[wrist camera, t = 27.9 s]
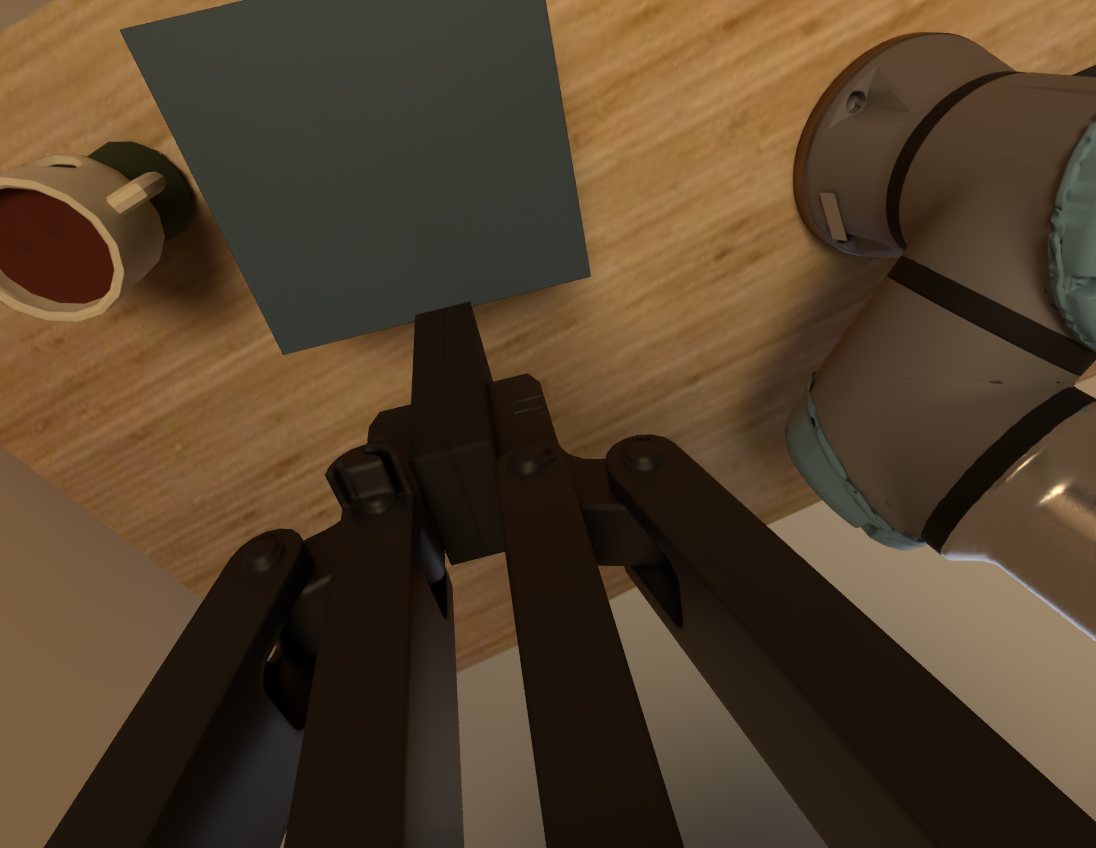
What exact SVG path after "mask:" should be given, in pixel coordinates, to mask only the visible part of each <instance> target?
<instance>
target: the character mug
mask: <svg viewBox="0 0 1096 848" xmlns="http://www.w3.org/2000/svg"><path fill="white" fill-rule="evenodd" d="M191 216H192V205H191V198H190V191H189V190H188V188H187V186H186V184H185V183H184V181H183V179H182V178H181V176H180V174H179V172H178V171H177V169H176V168H175V167H174V166H173V165H171V164H170V163H169V162H168V161H167V160H166V159H165V158H164V157H163V156H162V155H161V154H160V153H159V152H158V151H156V150H153V149H150V148H148V147H145V146H142V145H140V144H137V143H134V142H108V143H106V144H105V145H103V146H102V147H100V148H99V149H97V150H96V151H95V152H93V153H92V154H90V155H89V156H87V157H86V156H82V155H69V154H55V155H51V156H48V157H45V158H41V159H38V160H36V161H33V162H30V163H26V164H23V165H21V166H18V167H16V168H14V169H11V170H8V171H5V172H3V173H0V300H1V301H2V302H4V303H5V304H7V305H9V306H10V307H12V308H13V309H15V310H17V311H20V312H23V313H26V314H29V315H32V316H35V317H39V318H42V319H45V320H49V321H74V322H79V321H82V320H85V319H88V318H91V317H94V316H96V315H99V314H102V313H104V312H106V311H107V310H108V309H109V308H110V307H111V306H113V305H114V304H115V303H116V302H117V301H118V300H119V299H120V298H121V297H122V296H123V295H125V294H126V293H127V292H128V291H129V290H130V289H131V288H132V287H133V286H134V285H136V284H137V283H138V282H139V281H140V280H141V279H142V278H143V277H144V276H145V275H146V274H147V273H148V272H149V271H150V270H151V269H152V268H153V267H154V266H155V265H156V264H157V263H158V261H159V260H160V257H161V253H162V248H163V244H164V243H166V242H167V241H169V240H171V239H172V238H174V237H175V236H177V235H179V234H180V233H182V232H183V231H185V229H186V227H187V225H188V222H189V220H190V218H191Z"/></svg>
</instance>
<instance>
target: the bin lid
mask: <svg viewBox="0 0 1096 848" xmlns="http://www.w3.org/2000/svg"><path fill="white" fill-rule="evenodd" d="M120 32H121V34H122V36H123V38H124V40H125V42H126V44H127V46H128V48H129V50H130V52H131V54H132V56H133V57H134V59H135V61H136V63H137V65H138V67H139V69H140V71H141V73H142V75H143V77H144V79H145V81H146V83H147V85H148V87H149V89H150V91H151V93H152V95H153V97H154V99H155V101H156V103H157V105H158V107H159V109H160V111H161V113H162V115H163V117H164V119H165V121H166V123H167V125H168V127H169V129H170V131H171V133H172V135H173V137H174V139H175V141H176V143H177V145H178V147H179V149H180V151H181V153H182V155H183V157H184V159H185V161H186V163H187V165H188V167H189V169H190V171H191V173H192V175H193V177H194V179H195V181H196V183H197V185H198V187H199V189H200V191H201V193H202V195H203V197H204V199H205V201H206V203H207V205H208V207H209V209H210V210H211V212H212V214H213V216H214V218H215V220H216V222H217V224H218V226H219V228H220V230H221V232H222V234H223V236H224V238H225V240H226V242H227V244H228V246H229V248H230V250H231V252H232V254H233V256H234V258H235V260H236V262H237V264H238V266H239V268H240V270H241V272H242V274H243V276H244V278H245V280H246V282H247V284H248V286H249V288H250V290H251V292H252V294H253V296H254V298H255V300H256V302H257V304H258V306H259V308H260V310H261V312H262V314H263V316H264V318H265V320H266V322H267V324H268V326H269V328H270V330H271V332H272V334H273V336H274V338H275V340H276V342H277V344H278V346H279V348H280V350H281V352H282V354H283V355H285V354H289V353H293V352H297V351H301V350H304V349H308V348H312V347H316V346H320V345H324V344H328V343H332V342H336V341H340V340H344V339H348V338H352V337H355V336H359V335H363V334H367V333H371V332H375V331H379V330H383V329H387V328H391V327H395V326H399V325H403V324H407V323H410V322H414V321H415V315H417V314H421V313H425V312H429V311H433V310H437V309H441V308H445V307H449V306H453V305H457V304H461V303H465V302H469V301H470V302H471V306H472V307H473V306H477V305H481V304H485V303H489V302H493V301H497V300H501V299H505V298H509V297H513V296H516V295H520V294H524V293H528V292H532V291H536V290H540V289H544V288H548V287H552V286H556V285H560V284H564V283H568V282H571V281H575V280H579V279H583V278H587V277H590V276H591V274H590V268H589V262H588V256H587V250H586V244H585V238H584V232H583V226H582V219H581V213H580V207H579V201H578V195H577V189H576V183H575V177H574V171H573V164H572V158H571V152H570V146H569V140H568V134H567V128H566V122H565V116H564V109H563V103H562V97H561V91H560V85H559V79H558V73H557V67H556V61H555V54H554V48H553V42H552V36H551V30H550V24H549V18H548V12H547V6H546V0H243V1H239V2H235V3H231V4H226V5H222V6H218V7H214V8H210V9H205V10H201V11H197V12H193V13H188V14H184V15H180V16H176V17H172V18H167V19H163V20H159V21H155V22H151V23H146V24H142V25H138V26H134V27H129V28H125V29H121V30H120Z"/></svg>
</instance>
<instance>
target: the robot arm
mask: <svg viewBox="0 0 1096 848" xmlns="http://www.w3.org/2000/svg"><path fill="white" fill-rule="evenodd" d="M794 187H795V195H796V200H797V204H798V207H799V210H800V213H801V215H802V217H803V219H804V221H805V223H806V224H807V226H808V227H809V228H810V230H811V231H812V232H813V233H814V234H815V235H816V236H817V237H818V238H820V239H821V240H823V241H824V242H826V243H828V244H829V245H831V246H833V247H835V248H837V249H839V250H841V251H843V252H845V253H848V254H852V255H856V256H864V257H900V258H899V259H898V261H897V262H896V264H895V265H894V266H893V268H892V269H891V271H890V272H889V273H888V274H887V276H886V277H885V279H884V280H883V281H882V283H881V284H880V286H879V287H878V288H877V290H876V291H875V292H874V294H873V295H872V297H871V298H870V299H869V301H868V302H867V303H866V305H865V306H864V308H863V309H862V310H861V312H860V313H859V314H858V316H857V317H856V318H855V320H854V321H853V323H852V324H851V325H850V327H849V328H848V329H847V331H846V332H845V333H844V335H843V336H842V338H841V339H840V340H839V342H838V343H837V344H836V346H835V347H834V348H833V350H832V351H831V353H830V354H829V355H828V357H827V358H826V359H825V361H824V362H823V364H822V365H821V366H820V368H819V369H818V370H817V371H816V372H814V373H812V375H811V376H810V377H809V379H808V381H807V384H806V389H805V391H804V392H803V394H802V395H801V397H800V398H799V400H798V401H797V403H796V405H795V406H794V408H793V409H792V411H791V412H790V414H789V416H788V418H787V420H786V423H785V429H784V431H785V439H786V446H787V450H788V452H789V455H790V457H791V459H792V461H793V463H794V465H795V466H796V468H797V469H798V471H799V472H800V474H801V475H802V477H803V478H804V479H805V481H806V482H807V483H808V484H809V486H810V487H811V488H812V489H813V490H814V491H815V492H816V494H817V495H818V496H819V497H820V498H821V499H822V500H823V501H824V502H825V503H826V504H827V505H828V506H829V507H830V508H831V509H832V510H834V511H835V512H836V513H837V514H838V515H839V516H841V517H842V518H843V519H844V520H845V521H847V522H848V523H849V524H851V525H852V526H854V527H856V528H857V527H861V528H862V529H863V530H864V531H865V532H866V534H867V535H868V536H869V537H870V538H872V539H874V540H875V541H877V542H879V543H881V544H883V545H886V546H888V547H892V548H895V549H899V550H911V549H914V548H917V547H922V546H924V545H926V544H928V545H930V546H931V547H932V548H933V549H934V550H936V551H937V552H938V553H939V554H940V555H942V556H943V557H945V558H946V559H948V560H967V561H969V560H970V561H986V562H990V563H993V564H997V565H998V566H999V567H1000V568H1002V569H1003V570H1004V571H1005V572H1007V573H1008V574H1009V575H1011V576H1012V577H1013V578H1015V579H1016V580H1017V581H1018V582H1020V583H1021V584H1022V585H1024V586H1025V587H1026V588H1027V589H1029V590H1030V591H1031V592H1033V593H1034V594H1035V595H1037V596H1038V597H1039V598H1040V599H1042V600H1043V601H1044V602H1046V603H1047V604H1048V605H1049V606H1051V607H1052V608H1053V609H1055V610H1056V611H1057V612H1058V613H1060V614H1061V615H1062V616H1064V617H1065V618H1066V619H1068V620H1069V621H1070V622H1071V623H1073V624H1074V625H1075V626H1077V627H1078V628H1079V629H1080V630H1082V631H1083V632H1084V633H1086V634H1087V635H1088V636H1090V637H1091V638H1092V639H1094V640H1095V641H1096V399H1095V398H1094V397H1092V396H1090V395H1088V394H1086V393H1084V392H1083V391H1081V390H1079V389H1077V388H1076V387H1075V386H1074V384H1075V382H1076V381H1077V380H1078V379H1079V378H1080V376H1082V374H1083V373H1084V372H1085V371H1086V370H1087V369H1088V368H1089V367H1090V366H1091V365H1092V364H1093V363H1094V362H1095V360H1096V65H1095V66H1093V67H1090V68H1088V69H1086V70H1083V71H1081V72H1079V73H1076V74H1074V75H1072V76H1070V75H1056V74H1043V73H1026V72H1016V71H1015V70H1013V69H1012V68H1011V67H1009V66H1008V65H1006V64H1005V63H1004V62H1002V61H1001V60H999V59H998V58H997V57H995V56H994V55H992V54H991V53H989V52H988V51H986V50H985V49H984V48H983V47H981V46H980V45H978V44H977V43H975V42H973V41H971V40H969V39H967V38H965V37H962V36H959V35H955V34H950V33H931V32H921V33H911V34H906V35H901V36H898V37H895V38H892V39H890V40H887V41H885V42H883V43H881V44H879V45H877V46H875V47H873V48H872V49H870V50H868V51H867V52H865V53H864V54H862V55H861V56H860V57H859V58H857V59H856V60H855V61H853V62H852V63H851V64H850V65H849V66H848V67H847V68H846V69H844V70H843V71H842V73H841V74H840V75H839V76H838V77H837V78H836V79H835V80H834V81H833V82H832V84H831V85H830V86H829V87H828V89H827V90H826V91H825V93H824V94H823V96H822V97H821V98H820V100H819V102H818V103H817V105H816V107H815V108H814V110H813V112H812V114H811V116H810V118H809V120H808V122H807V124H806V127H805V129H804V131H803V134H802V137H801V140H800V143H799V147H798V151H797V156H796V162H795V172H794ZM367 441H368V443H367V444H366V445H362V446H360V447H357V448H354V449H351V450H350V451H348V452H346V453H345V454H343V455H341V456H340V457H338V458H337V459H336V460H335V461H334V462H333V463H332V464H331V465H330V466H329V468H328V470H327V472H326V474H325V477H326V479H327V480H328V482H329V484H330V486H331V488H332V490H333V492H334V494H335V496H336V498H337V500H338V502H339V504H340V505H341V507H342V509H343V510H342V515H341V520H340V521H339V522H338V523H337V524H335V525H333V526H331V527H330V528H328V529H326V530H324V531H322V532H320V533H318V534H316V535H314V536H312V537H310V538H308V539H306V540H304V541H303V539H302V538H301V536H300V534H298V533H297V532H295V531H294V530H292V529H276V530H272V531H267V532H265V533H263V534H260V535H259V536H256V537H254V538H252V539H251V540H250V541H248V542H247V543H246V544H244V545H243V546H241V547H240V548H239V549H238V550H237V552H236V553H235V554H234V555H233V556H232V557H231V558H230V560H229V561H228V563H227V565H226V566H225V568H224V569H223V571H222V572H221V574H220V575H219V577H218V578H217V580H216V582H215V583H214V585H213V586H212V588H211V589H210V591H209V592H208V594H207V596H206V597H205V599H204V600H203V602H202V604H201V605H200V606H199V608H198V609H197V611H196V613H195V614H194V616H193V617H192V619H191V620H190V622H189V623H188V625H187V626H186V628H185V630H184V631H183V633H182V635H181V636H180V637H179V639H178V641H177V642H176V644H175V645H174V647H173V648H172V650H171V651H170V653H169V655H168V656H167V658H166V659H165V661H164V662H163V664H162V665H161V667H160V668H159V670H158V671H157V673H156V675H155V676H154V678H153V679H152V681H151V682H150V684H149V685H148V687H147V688H146V690H145V692H144V693H143V695H142V696H141V698H140V699H139V701H138V702H137V704H136V706H135V707H134V709H133V710H132V712H131V713H130V715H129V716H128V718H127V720H126V721H125V723H124V724H123V726H122V727H121V729H120V730H119V732H118V733H117V735H116V736H115V738H114V740H113V741H112V743H111V744H110V746H109V747H108V749H107V750H106V752H105V753H104V755H103V757H102V758H101V760H100V761H99V763H98V764H97V766H96V767H95V769H94V771H93V772H92V774H91V775H90V777H89V778H88V780H87V781H86V783H85V785H84V786H83V788H82V789H81V791H80V792H79V794H78V795H77V797H76V798H75V800H74V802H73V803H72V805H71V806H70V808H69V809H68V811H67V812H66V814H65V815H64V817H63V819H62V820H61V822H60V823H59V825H58V826H57V828H56V829H55V831H54V833H53V834H52V836H51V837H50V839H49V840H48V842H47V844H46V845H45V846H44V848H280V846H281V843H282V840H283V838H284V835H285V833H286V830H287V833H286V838H285V844H284V848H464V835H463V834H464V832H463V810H462V788H461V765H460V746H459V745H460V743H459V721H458V701H457V700H458V699H457V678H456V655H455V632H454V610H453V588H452V583H451V580H450V577H449V574H448V572H447V570H446V567H445V551H446V554H447V556H448V559H449V561H450V564H451V565H455V564H459V563H462V562H466V561H470V560H474V559H478V558H482V557H486V556H490V555H493V554H497V553H501V552H505V554H506V561H507V568H508V576H509V583H510V590H511V597H512V604H513V611H514V618H515V626H516V633H517V640H518V647H519V654H520V661H521V668H522V676H523V683H524V690H525V697H526V704H527V711H528V719H529V725H530V732H531V740H532V747H533V754H534V761H535V768H536V775H537V782H538V790H539V797H540V804H541V811H542V819H543V826H544V832H545V840H546V847H547V848H684V845H683V842H682V839H681V836H680V832H679V830H678V826H677V823H676V819H675V816H674V813H673V810H672V806H671V803H670V800H669V797H668V794H667V790H666V787H665V783H664V780H663V777H662V774H661V771H660V767H659V764H658V761H657V757H656V754H655V751H654V748H653V744H652V741H651V738H650V735H649V731H648V728H647V725H646V721H645V718H644V715H643V712H642V708H641V705H640V702H639V699H638V695H637V692H636V689H635V686H634V683H633V679H632V676H631V673H630V669H629V666H628V663H627V659H626V656H625V653H624V650H623V646H622V643H621V640H620V637H619V633H618V630H617V627H616V624H615V620H614V617H613V614H612V611H611V607H610V604H609V601H608V598H607V594H606V591H605V588H604V584H603V581H602V578H601V575H600V571H599V568H598V566H624V567H625V570H626V572H627V574H628V575H629V577H630V578H631V579H632V581H633V582H634V584H635V585H636V586H637V588H638V589H639V590H640V591H641V593H642V594H643V596H644V597H645V599H646V600H647V601H648V603H649V604H650V605H651V607H652V608H653V609H654V611H655V612H656V613H657V615H658V616H659V617H660V619H661V620H662V622H663V623H664V624H665V626H666V627H667V628H668V630H669V631H670V633H671V634H672V635H673V636H674V638H675V639H676V641H677V642H678V643H679V645H680V646H681V648H682V649H683V650H684V651H685V653H686V654H687V655H688V657H689V658H690V660H691V661H692V663H693V664H694V665H695V666H696V668H697V669H698V671H699V672H700V673H701V675H702V676H703V677H704V679H705V680H706V682H707V683H708V684H709V686H710V687H711V688H712V690H713V691H714V692H715V694H716V695H717V697H718V698H719V699H720V701H721V702H722V703H723V705H724V706H725V707H726V709H727V710H728V711H729V713H730V714H731V715H732V717H733V718H734V720H735V721H736V722H737V724H738V725H739V726H740V728H741V729H742V731H743V732H744V733H745V735H746V736H747V737H748V739H749V740H750V741H751V743H752V744H753V745H754V747H755V748H756V750H757V751H758V752H759V754H760V755H761V756H762V758H763V759H764V761H765V762H766V763H767V765H768V766H769V767H770V768H771V770H772V771H773V773H774V774H775V775H776V777H777V778H778V780H779V781H780V782H781V784H782V785H783V786H784V788H785V789H786V790H787V792H788V793H789V795H790V796H791V797H792V799H793V800H794V801H795V803H796V804H797V805H798V807H799V808H800V809H801V811H802V812H803V814H804V815H805V816H806V818H807V819H808V820H809V822H810V823H811V824H812V826H813V827H814V829H815V830H816V831H817V833H818V834H819V835H820V837H821V838H822V839H823V840H824V842H825V844H826V845H827V846H828V848H1096V822H1095V821H1094V820H1093V819H1092V818H1091V817H1090V816H1089V815H1088V814H1086V813H1085V812H1084V811H1083V810H1082V809H1081V808H1080V807H1079V806H1078V805H1076V804H1075V803H1074V802H1073V801H1072V800H1071V799H1070V798H1069V797H1067V796H1066V795H1065V794H1064V793H1063V792H1062V791H1061V790H1060V789H1059V788H1058V787H1056V786H1055V785H1054V784H1053V783H1052V782H1051V781H1050V780H1049V779H1048V778H1046V777H1045V776H1044V775H1043V774H1042V773H1041V772H1040V771H1039V770H1038V769H1036V768H1035V767H1034V766H1033V765H1032V764H1031V763H1030V762H1029V761H1027V760H1026V759H1025V758H1024V757H1023V756H1022V755H1021V754H1020V753H1019V752H1018V751H1016V750H1015V749H1014V748H1013V747H1012V746H1011V745H1010V744H1009V743H1007V742H1006V741H1005V740H1004V739H1003V738H1002V737H1001V736H1000V735H999V734H998V733H996V732H995V731H994V730H993V729H992V728H991V727H990V726H989V725H988V724H986V723H985V722H984V721H983V720H982V719H981V718H980V717H979V716H978V715H976V714H975V713H974V712H973V711H972V710H971V709H970V708H969V707H967V706H966V705H965V704H964V703H963V702H962V701H961V700H960V699H959V698H957V697H956V696H955V695H954V694H953V693H952V692H951V691H950V690H949V689H947V688H946V687H945V686H944V685H943V684H942V683H941V682H940V681H938V680H937V679H936V678H935V677H934V676H933V675H932V674H931V673H930V672H928V671H927V670H926V669H925V668H924V667H923V666H922V665H921V664H920V663H918V662H917V661H916V660H915V659H914V658H913V657H912V656H911V655H910V654H909V653H907V652H906V651H905V650H904V649H903V648H902V647H900V645H898V644H897V643H896V642H895V641H894V640H893V639H892V638H891V637H890V636H889V635H887V634H886V633H885V632H884V631H883V630H882V629H881V628H880V627H878V626H877V625H876V624H875V623H874V622H873V621H872V620H871V619H870V618H868V617H867V616H866V615H865V614H864V613H863V612H862V611H861V610H860V609H859V608H857V607H856V606H855V605H854V604H853V603H852V602H851V601H849V600H848V599H847V598H846V597H845V596H844V595H843V594H842V593H841V592H840V591H838V590H837V589H836V588H835V587H834V586H833V585H832V584H831V583H829V582H828V581H827V580H826V579H825V578H824V577H823V576H822V575H821V574H820V573H818V572H817V571H816V570H815V569H814V568H813V567H812V566H811V565H809V564H808V563H807V562H806V561H805V560H804V559H803V558H802V557H801V556H799V555H798V554H797V553H796V552H795V551H794V550H793V549H792V548H791V547H790V546H788V545H787V544H786V543H785V542H784V541H783V540H782V539H780V537H778V536H777V535H776V534H775V533H774V532H773V531H772V530H771V529H769V528H768V527H767V526H766V525H765V524H764V523H763V522H762V521H761V520H760V519H758V518H757V517H756V516H755V515H754V514H753V513H752V512H751V511H750V510H748V509H747V508H746V507H745V506H744V505H743V504H742V503H741V502H740V501H738V500H737V499H736V498H735V497H734V496H733V495H732V494H731V493H729V492H728V491H727V490H726V489H725V488H724V487H723V486H722V485H721V484H719V483H718V482H717V481H716V480H715V479H714V478H713V477H712V476H711V475H709V474H708V473H707V472H706V471H705V470H704V469H703V468H702V467H701V466H699V465H698V464H697V463H696V462H695V461H694V460H693V459H692V458H691V457H689V456H688V455H687V454H686V453H685V452H684V451H683V450H682V449H681V448H679V447H678V446H677V445H676V444H675V443H673V442H672V441H670V440H668V439H667V438H665V437H661V436H656V435H636V436H633V437H629V438H626V439H623V440H622V441H620V442H618V443H617V444H615V445H613V447H612V448H611V449H610V450H609V452H608V453H607V455H606V459H583V458H579V457H574V456H572V455H570V454H568V453H566V452H565V451H564V450H563V449H562V448H561V447H560V445H559V443H558V440H557V437H556V434H555V431H554V427H553V424H552V421H551V418H550V414H549V411H548V408H547V405H546V401H545V398H544V395H543V392H542V388H541V385H540V382H539V381H537V380H536V379H535V378H533V377H532V376H530V375H529V374H528V373H527V374H523V375H519V376H515V377H511V378H507V379H503V380H499V381H495V382H493V380H492V376H491V373H490V369H489V366H488V362H487V359H486V355H485V352H484V348H483V344H482V341H481V337H480V334H479V330H478V327H477V323H476V320H475V316H474V313H473V309H472V306H471V302H470V301H469V302H465V303H461V304H457V305H453V306H449V307H445V308H441V309H437V310H433V311H429V312H425V313H421V314H417V315H415V332H414V354H413V375H412V396H411V404H410V405H406V406H402V407H398V408H394V409H390V410H386V411H382V412H380V413H379V414H378V415H377V417H376V418H375V419H374V421H373V422H372V424H371V425H370V426H369V432H368V439H367ZM274 645H275V646H276V649H275V651H274V653H273V655H272V657H271V658H270V659H269V661H267V660H268V658H269V656H270V654H271V652H272V650H273V647H274Z"/></svg>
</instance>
